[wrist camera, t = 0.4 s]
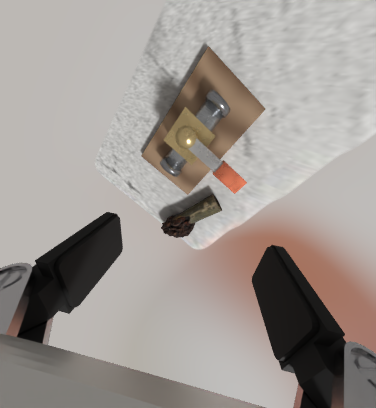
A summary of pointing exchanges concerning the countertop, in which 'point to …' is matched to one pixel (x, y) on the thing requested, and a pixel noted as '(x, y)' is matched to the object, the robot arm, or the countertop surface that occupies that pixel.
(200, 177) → the mounting board
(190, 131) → the valve lever
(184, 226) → the olive brown elongated lump
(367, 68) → the countertop surface
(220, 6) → the countertop surface
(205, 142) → the pipe and valve
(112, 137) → the countertop surface
